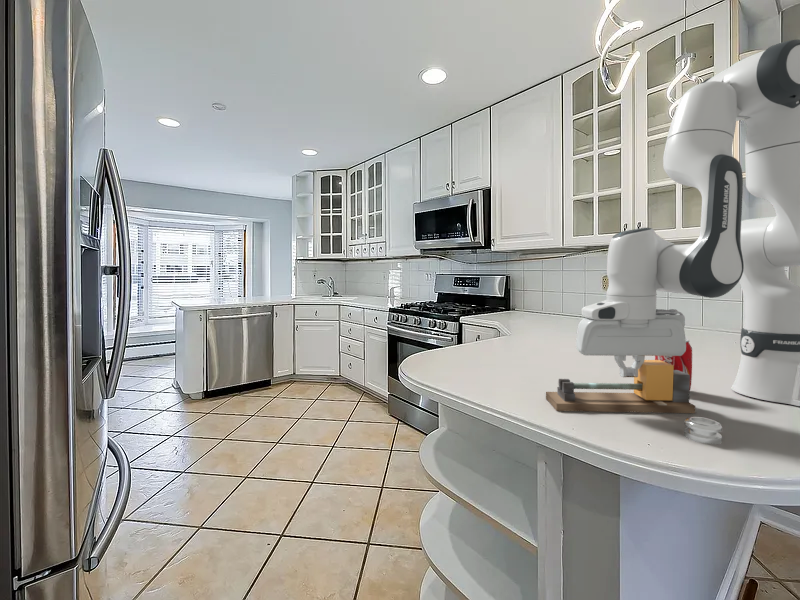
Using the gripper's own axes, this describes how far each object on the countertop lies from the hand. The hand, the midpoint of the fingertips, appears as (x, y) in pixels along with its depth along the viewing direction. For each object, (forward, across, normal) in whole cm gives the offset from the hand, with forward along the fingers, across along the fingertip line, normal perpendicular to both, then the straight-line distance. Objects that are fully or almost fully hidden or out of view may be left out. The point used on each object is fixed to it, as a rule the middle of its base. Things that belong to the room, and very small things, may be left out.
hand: (628, 376), depth 83 cm
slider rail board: (+6, +2, 0) cm, 6 cm away
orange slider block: (+4, -5, 0) cm, 6 cm away
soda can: (+6, -14, -11) cm, 19 cm away
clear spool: (+6, -5, +16) cm, 18 cm away
